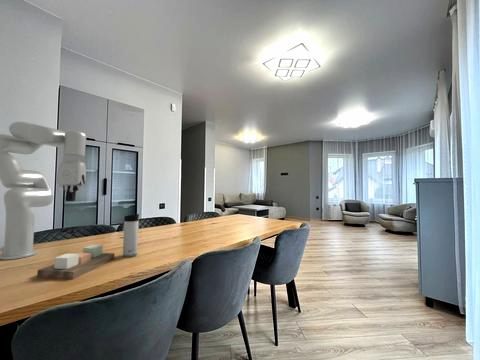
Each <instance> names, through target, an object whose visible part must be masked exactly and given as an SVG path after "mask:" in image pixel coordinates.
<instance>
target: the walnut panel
mask: <svg viewBox="0 0 480 360" xmlns="http://www.w3.org/2000/svg"><path fill="white" fill-rule="evenodd" d="M113 260H115V252H114V253H113V252H110V253H109V252H102V255H99V256H97V257H95V258H91V260H89V261H86V262H84V263H82V264H80V263H78V265H76V266H73V267H71V268H68V269H54V264H55V263H52V264H49V265H47V266H45V267H41V268H39V269H37V273H36V277H37V278H50V279H65V280H66V279H67V280H74V279H77V278H78V277H80V276H83V275H84V274H86V273H88V272H91V271H93V270H95V269H96V268H99V267H100V266H103V265H105V264H107V263H109V262H111V261H113Z"/></svg>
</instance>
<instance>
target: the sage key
mask: <svg viewBox="0 0 480 360" xmlns="http://www.w3.org/2000/svg"><path fill="white" fill-rule="evenodd" d="M82 250H83V251H82V253H91V258H95V257H97V256H99V255H102V253H103V244H102V245H101V244H91V245H88V246H84V247H83V248H82Z"/></svg>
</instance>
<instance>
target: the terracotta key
mask: <svg viewBox="0 0 480 360" xmlns="http://www.w3.org/2000/svg"><path fill="white" fill-rule="evenodd" d="M77 254H79V257H78V263H80V264H82V263H84V262H86V261H89V260H91V253H83V252H79V253H77Z"/></svg>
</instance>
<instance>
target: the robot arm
mask: <svg viewBox="0 0 480 360" xmlns="http://www.w3.org/2000/svg"><path fill="white" fill-rule="evenodd" d="M8 130H9V131H8V132H9V133H10V134H5V133H0V182H1V184H2V186H3V187H4V188H6V189H8V190H6V192H5V193H3V194H4V195H3V203H4V208H5V224H4V225H5V228H4V242H3V243H4V244H3V246H2V247H0V252H1V254H0V260H17V259H22V258H27V257H31V256H35V255H36V254H38V250H37V249H35V248H34V236H35V235H34V234H35V215H34V213H33V211H32V210H31V208H40V207H48V206H50V205H51V204H52V203H53V201H54V194H53V192H52V189H51V186H50V185H49V183H48V180H47V179H46V176H45V174H43V173H42V172H40V171H37V170H30V169H29V170H28V169H24V168H23V167H22V165H21V163H20V162H19V160H18V159H17V158H16V157H15V156H13V155H11V154H10V153H12V154H19V155H32V154H34V153H36V151H38V150H39V149H40V148H41V147H43V146H49V147H55V148H59V149H63V152H62V154H63V155H62V156H61V159H62V161H60V163H59V165H58V169H57V173H56V183H57V184H58V185H59V186H58V187H60V188H63V190H64V192H65V202H76V197H77V195H76V194H77V193H78V192H79V189H84V188H85V185H86V179H87V169H86V168H87V167H86V163H85V155H86V143H87V134H86V133H84V132H83V131H76V130H66V131H63V130H60V129H56V128H52V127H48V126H44V125H41V124H35V123H31V122H27V121H15V122H12V123H11V124H9V126H8Z"/></svg>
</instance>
